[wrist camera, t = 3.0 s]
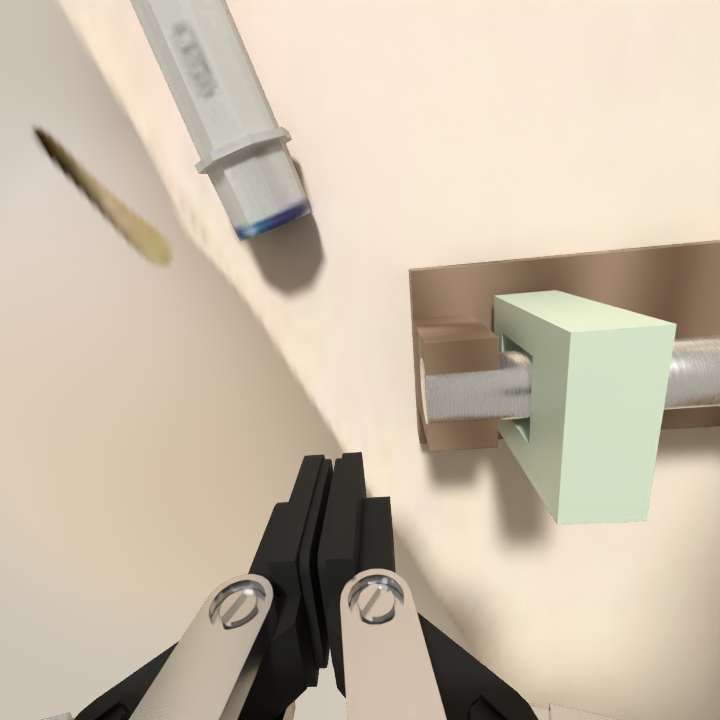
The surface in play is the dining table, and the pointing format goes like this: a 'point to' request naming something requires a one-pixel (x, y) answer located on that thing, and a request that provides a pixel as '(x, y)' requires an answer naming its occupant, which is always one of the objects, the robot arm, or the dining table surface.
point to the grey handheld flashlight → (225, 112)
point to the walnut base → (566, 274)
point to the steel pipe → (514, 381)
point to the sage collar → (587, 402)
